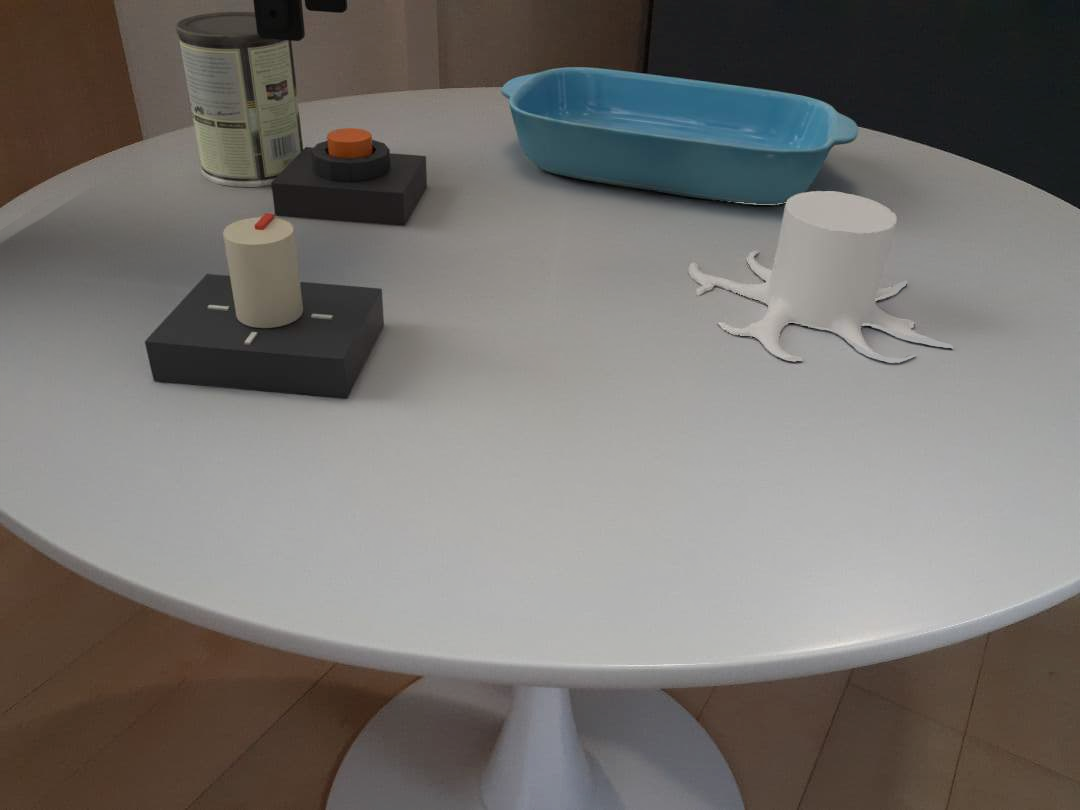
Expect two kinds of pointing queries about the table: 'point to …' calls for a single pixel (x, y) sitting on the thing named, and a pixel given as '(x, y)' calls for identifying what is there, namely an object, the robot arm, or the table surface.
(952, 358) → the table surface
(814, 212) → the tree stump
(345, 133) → the power button
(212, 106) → the coffee can
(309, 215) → the button base
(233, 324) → the dial panel
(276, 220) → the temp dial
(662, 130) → the casserole dish
